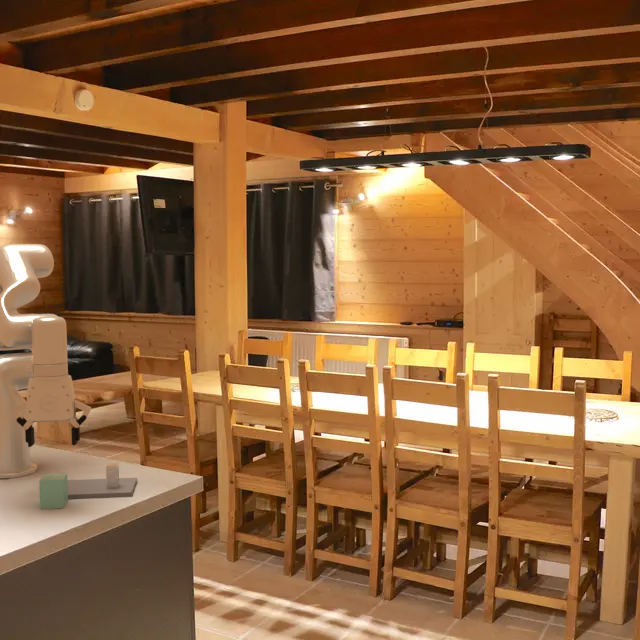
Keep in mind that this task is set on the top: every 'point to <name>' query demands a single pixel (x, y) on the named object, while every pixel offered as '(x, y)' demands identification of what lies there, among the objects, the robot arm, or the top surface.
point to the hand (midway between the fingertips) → (53, 444)
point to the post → (112, 475)
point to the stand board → (100, 488)
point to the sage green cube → (53, 491)
